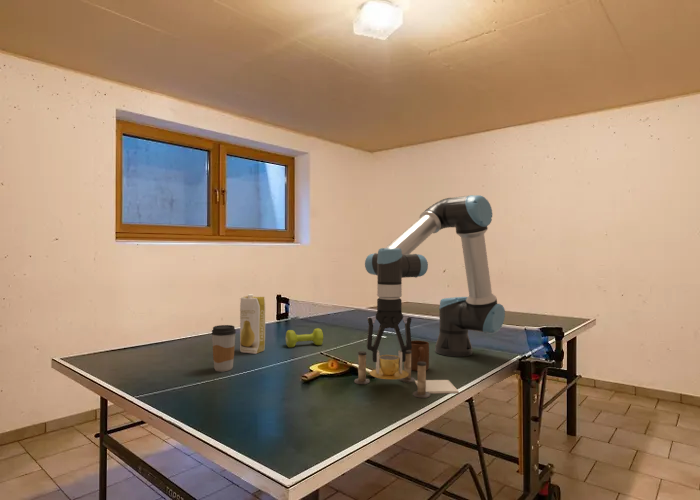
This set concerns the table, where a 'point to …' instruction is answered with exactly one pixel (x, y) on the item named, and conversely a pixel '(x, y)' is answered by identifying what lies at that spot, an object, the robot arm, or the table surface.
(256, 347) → the juice carton
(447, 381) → the coaster
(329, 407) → the table surface
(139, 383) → the table surface
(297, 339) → the dumbbell
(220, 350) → the coffee cup
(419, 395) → the posts
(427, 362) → the mug
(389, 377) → the cup
